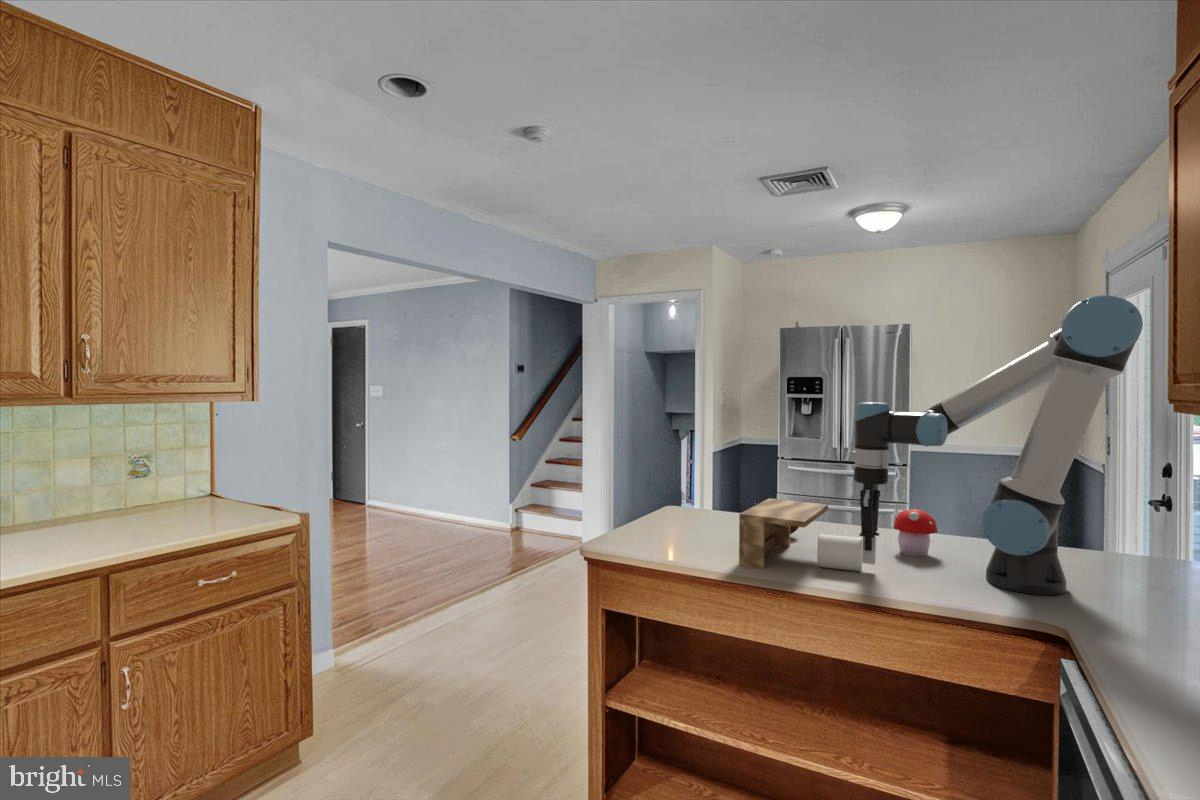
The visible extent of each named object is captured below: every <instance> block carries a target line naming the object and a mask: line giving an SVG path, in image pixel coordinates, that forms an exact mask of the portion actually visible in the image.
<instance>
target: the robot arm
mask: <svg viewBox="0 0 1200 800" xmlns="http://www.w3.org/2000/svg"><path fill="white" fill-rule="evenodd" d="M1143 324H1144V323H1143V317H1142V314H1141V313H1140V310H1139V309H1138V308H1137V306H1136V305H1135V304H1133V303H1132V302H1130V301H1129V300H1127V299H1125V298H1122V297H1118V296H1115V295H1106V294H1102V295H1095V296H1090V297H1087V298H1084V299H1082V300H1080V301H1078V302H1076V303H1075V304H1074V305H1072V307H1070V309H1069V310H1068V311H1067V312H1066V313H1065V314H1064V317H1063V318H1062V322H1061V328H1059V329H1057V330H1056V331H1054V332H1052V333H1051V334H1049V337H1048V340H1047V341H1046V342H1044V343H1042V344H1041V345H1039V346H1037V347H1036V348H1034V349H1032V350H1030V351H1029V352H1027V353H1025V354H1023V355H1022V356H1019V357H1017V358H1015V360H1012V361H1010V362H1009V363H1007V364H1006V365H1004V366H1002V367H1000V368H998V369H997V370H994V371H993V372H991V373H989V374H988V375H986V376H984V377H983V378H981V379H979V380H977V381H976V382H973V383H972V384H970V385H968V386H966V387H965V388H963V389H961V390H960V391H958V392H956V393H954V394H952V395H951V396H949V397H948V398H945V399H944V400H942V401H941V402H939V403H936V404H935V405H933V406H931V407H929V408H927V409H926V410H923V411H922V410H921V411H915V412H912V411H894V410H891V407H890V404H889V403H888V402H877V401H876V402H874V401H870V402H868V401H865V402H864V401H863V402H859V403H857V405H856V409H855V419H854V450H853V451H852V453H851V454H852V455H853V456H854V464H855V466H854V467H853V480H854V481H855V482H856V483H859V484H863V487H862V489H861V490H860V495H859V496H860V499H859V504H860V526H861V527H860V528H861V529H860V531H861V532H859V534H858V535H859V537H862V563H863V564H869V565H875V564H876V552H877V551H876V548H877V547H876V546H877V539H876V538H877V537H880V532H878V523H879V522H878V521H879V510H880V509H879V508H880V507H879V506H880V497H881V490H880V489H879V485H886V484H887V483H888V482H889V469H888V468H887V467H888V466H889V460H890V459H889V457H890V456H889V455H890V450H889V448H890V447H889V446H890V445H889V444H901V445H902V444H903V445H912V446H914V445H915V446H924V447H942V446H943V445H944V444H945V443H946V441H947V439H948V438H947V437H948V435H950V434H952V433H954V432H956V431H957V430H959V429H961V428H963V427H965V426H966V425H968V424H971V423H972V422H974V421H976V420H978V419H981V418H982V417H984V416H986V415H988V414H989V413H992V412H994V411H995V410H997V409H999V408H1001V407H1003V406H1004V405H1007V404H1009V403H1011V402H1012V401H1014V400H1016V399H1018V398H1020V397H1021V396H1024V395H1025V394H1027V393H1030V392H1031V391H1033V390H1036V389H1037V388H1039V387H1041V386H1042V385H1044V384H1047V383H1048V382H1049V384H1048V387H1047V388H1046V392H1045V393H1044V397H1043V399H1042V402H1041V404H1040V406H1039V409H1038V411H1037V414H1036V416H1035V418H1034V421H1033V424H1032V426H1031V429H1029V430H1030V431H1029V432H1028V436H1027V437H1026V440H1025V443H1024V445H1023V448H1022V450H1021V451H1020V454H1019V457H1018V459H1017V462H1016V463H1015V465H1014V468H1013V471H1012V474H1011V475H1009V476H1007V477H1003V478H1001V479H1000V480H999V483H998V484H997V486H996V490H995V493H994V494H993V497H992V500H991V501H990V504H989V505H988V506H987V508H985V510H984V512H983V514H982V517H981V527H982V531H983V534H984V536H985V538H986V540H988V542H989V543H991V545H992V546H993V547H994V550H993V552H992V555H991V557H990V560H989V561H988V564H987V567H986V569H985V580H986V581H987V582H989V583H990V584H992V585H994V586H996V587H998V588H1002V589H1005V590H1008V591H1012V592H1016V593H1023V594H1027V595H1028V594H1029V595H1037V596H1038V595H1039V596H1060V595H1063V594H1065V593H1066V592H1067V577H1066V576H1065V573H1064V570H1063V567H1062V565H1061V562H1060V559H1059V554H1058V547H1059V546H1058V544H1059V542H1058V541H1059V517H1060V515H1061V512H1062V510H1063V508H1064V505H1065V502H1066V501H1065V499H1064V497H1063V496H1062V494H1061V489H1062V487H1063V484H1064V482H1065V480H1066V479H1067V475H1068V473H1069V470H1070V468H1071V466H1072V464H1073V462H1074V460H1075V457H1076V455H1077V452H1078V450H1079V448H1080V446H1081V443H1082V441H1083V439H1084V436H1085V434H1086V432H1087V431H1088V428H1089V426H1090V422H1091V420H1092V418H1093V416H1094V414H1095V411H1096V409H1097V407H1098V405H1099V402H1100V399H1101V398H1102V395H1103V392H1104V391H1105V388H1106V387H1107V384H1108V382H1109V380H1110V379H1111V378H1114V377H1116V376H1119V375H1121V374H1123V372H1124V369H1125V367H1126V365H1127V363H1128V360H1129V359H1130V357H1131V354H1132V352H1133V349H1134V347H1135V344H1136V343H1137V341H1139V338H1140V336H1141V334H1142V332H1143V331H1142V330H1143V327H1144V326H1143Z"/></svg>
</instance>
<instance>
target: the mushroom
mask: <svg viewBox="0 0 1200 800" xmlns="http://www.w3.org/2000/svg"><path fill="white" fill-rule="evenodd" d="M893 529H895V530H898V531H899V533H898V537H897V541H898V545H899V547H898V548H899V551H900V553H901V554H903V555H905V556H912V557H927V556H928V555H929V549H930V545H931V538H930V535H932V534H938V527H937V521H936V519H935V518H933V517H932V516H931V515H930V514H929V513H928V512H926V511H925V510H922V509H921V510H920V509H917V508H911V509H907V510H903V509H899V510H897V511H896V517H895V518H894V524H893ZM926 555H927V556H926Z"/></svg>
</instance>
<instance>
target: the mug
mask: <svg viewBox="0 0 1200 800" xmlns="http://www.w3.org/2000/svg"><path fill="white" fill-rule="evenodd" d="M862 550H863V537H856V536H847V535H845V536H844V535H837V534H836V535H835V534H832V535H831V534H823V533H819V534H818V538H817V566H818V567H820V568H828V569H834V570H835V569H837V570H845V571H852V572H853V571H854V572H862V569H863V567H862V565H863V564H862Z"/></svg>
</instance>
